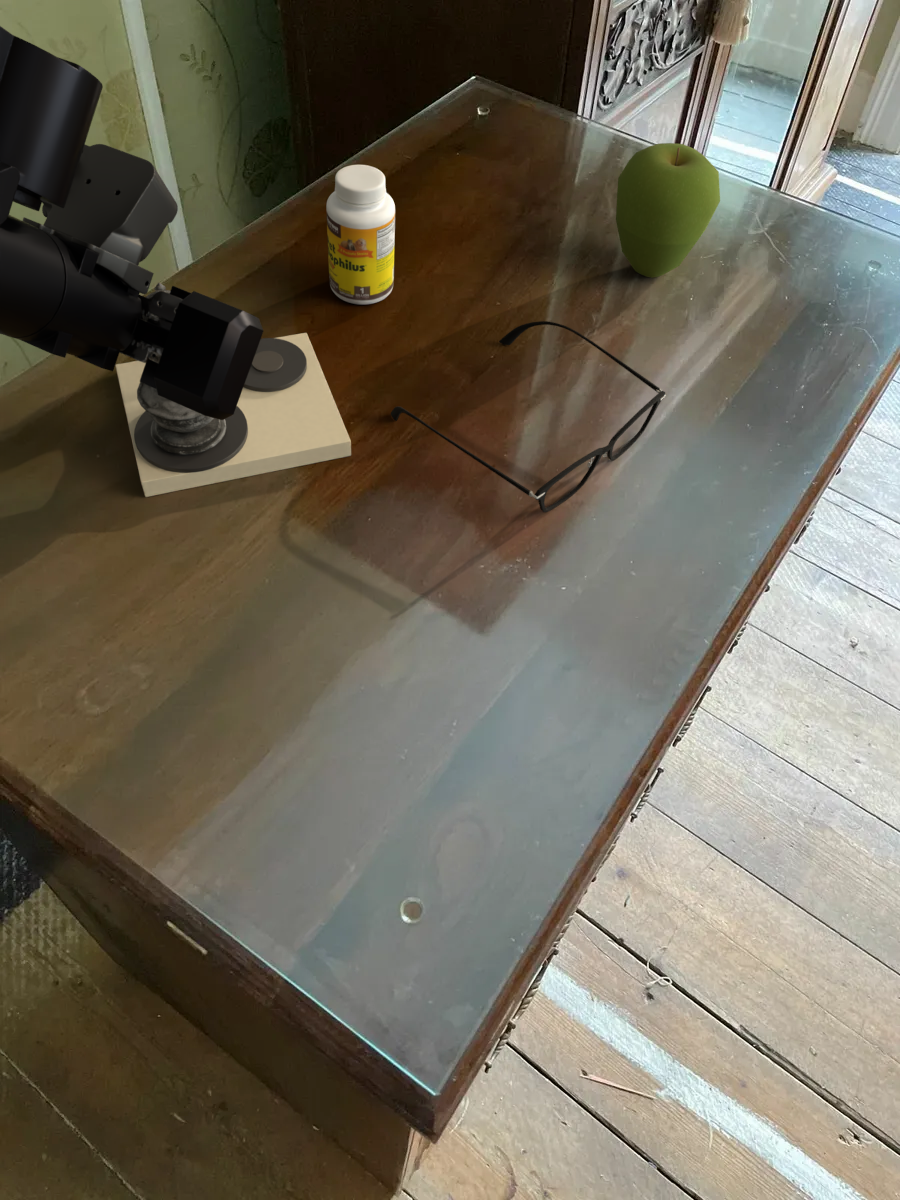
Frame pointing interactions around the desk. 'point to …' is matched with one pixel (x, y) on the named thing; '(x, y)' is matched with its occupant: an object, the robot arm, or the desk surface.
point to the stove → (248, 422)
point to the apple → (664, 205)
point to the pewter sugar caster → (178, 419)
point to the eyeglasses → (596, 453)
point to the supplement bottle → (361, 236)
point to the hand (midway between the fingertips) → (186, 343)
